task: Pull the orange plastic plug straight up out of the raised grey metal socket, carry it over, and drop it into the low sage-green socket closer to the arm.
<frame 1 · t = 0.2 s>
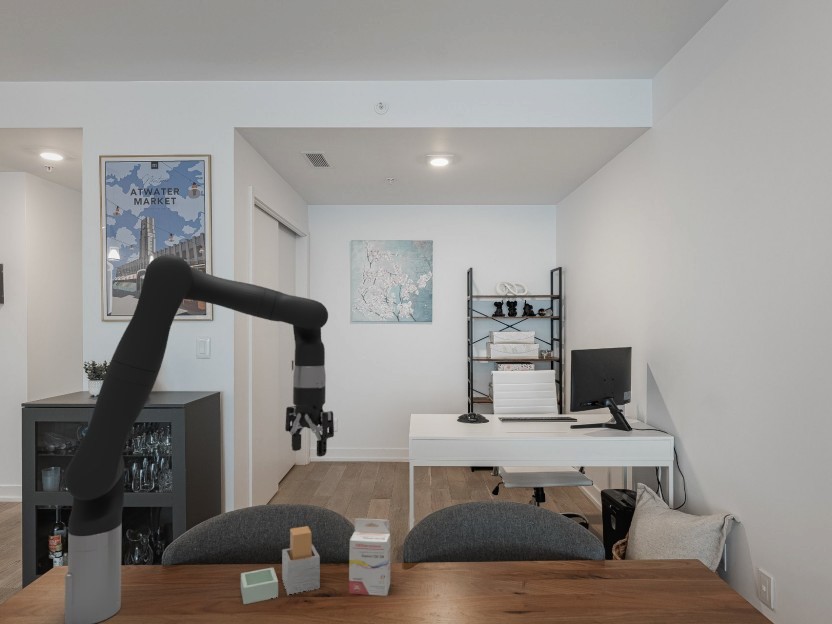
hand: (308, 453, 123), 28 cm above the table, tool pointing down, fingers open, 8 cm apart
plug: (300, 566, 116), point 4 cm above the table, touching upper socket
upper socket: (300, 584, 116), on the table
lower socket: (259, 593, 113), on the table
ink cartridge box: (370, 590, 114), on the table
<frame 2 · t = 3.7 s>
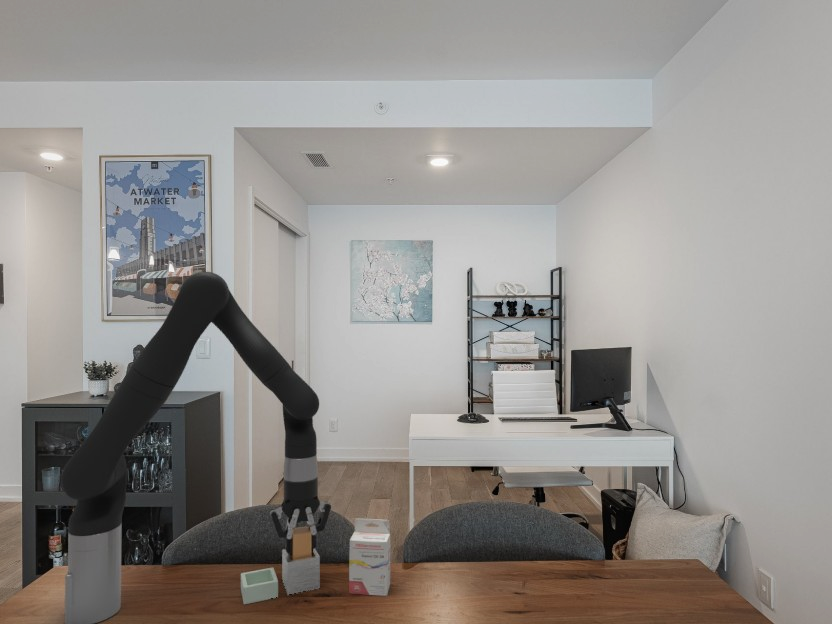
hand: (300, 551, 117), 7 cm above the table, tool pointing down, fingers closed on plug, 4 cm apart
plug: (300, 566, 116), point 4 cm above the table, touching gripper, upper socket
everything else where it was.
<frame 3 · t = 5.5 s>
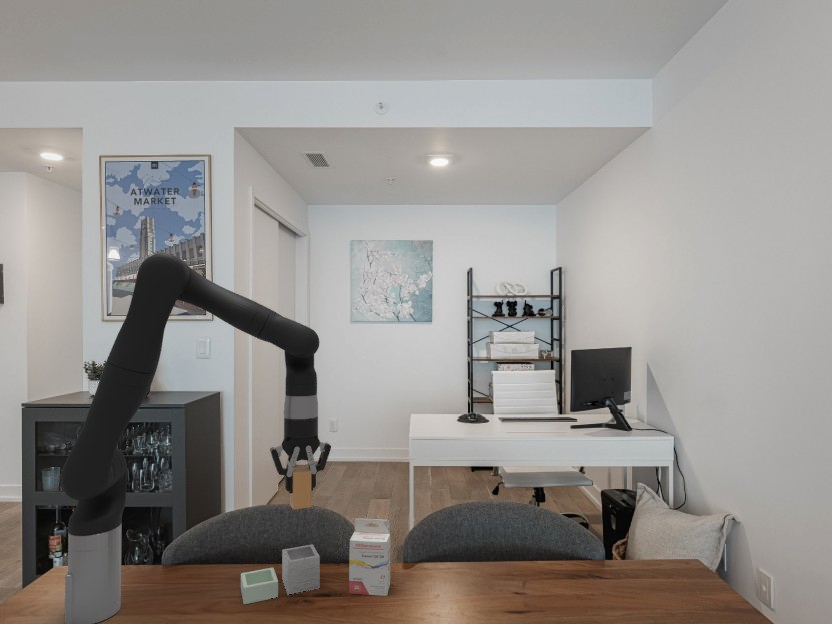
hand: (300, 490, 117), 21 cm above the table, tool pointing down, fingers closed on plug, 4 cm apart
plug: (300, 505, 117), point 18 cm above the table, touching gripper
everything else where it was.
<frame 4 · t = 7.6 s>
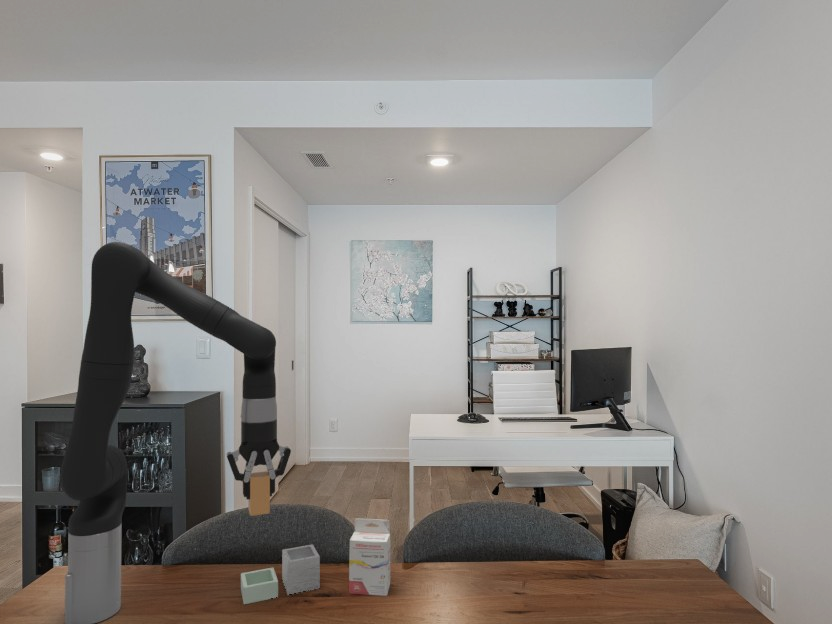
hand: (259, 496, 113), 21 cm above the table, tool pointing down, fingers closed on plug, 4 cm apart
plug: (259, 511, 113), point 18 cm above the table, touching gripper
everything else where it was.
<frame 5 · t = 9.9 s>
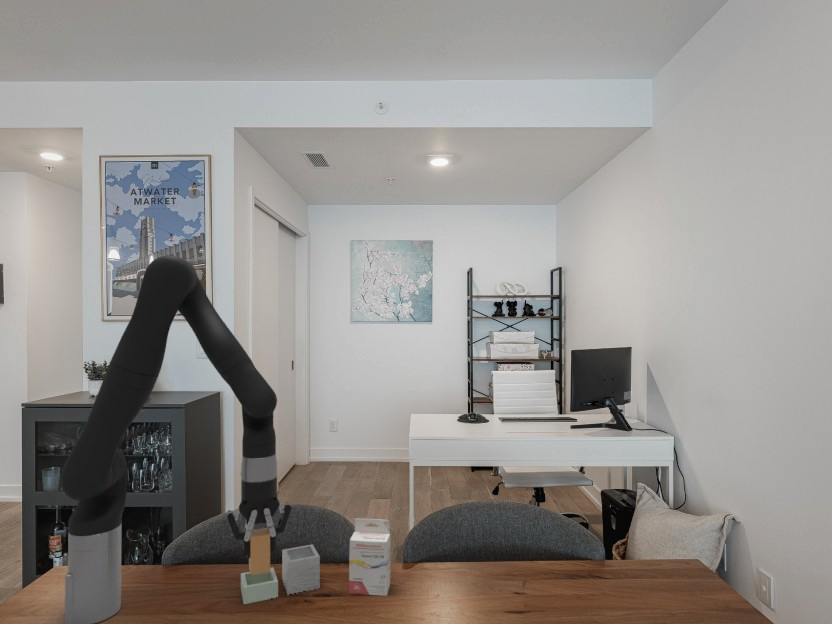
hand: (259, 554, 113), 8 cm above the table, tool pointing down, fingers closed on plug, 4 cm apart
plug: (259, 569, 113), point 5 cm above the table, touching gripper
everything else where it was.
when the fingers open (5 cm above the table, at t = 11.7 s): plug drops 1 cm, resting on lower socket.
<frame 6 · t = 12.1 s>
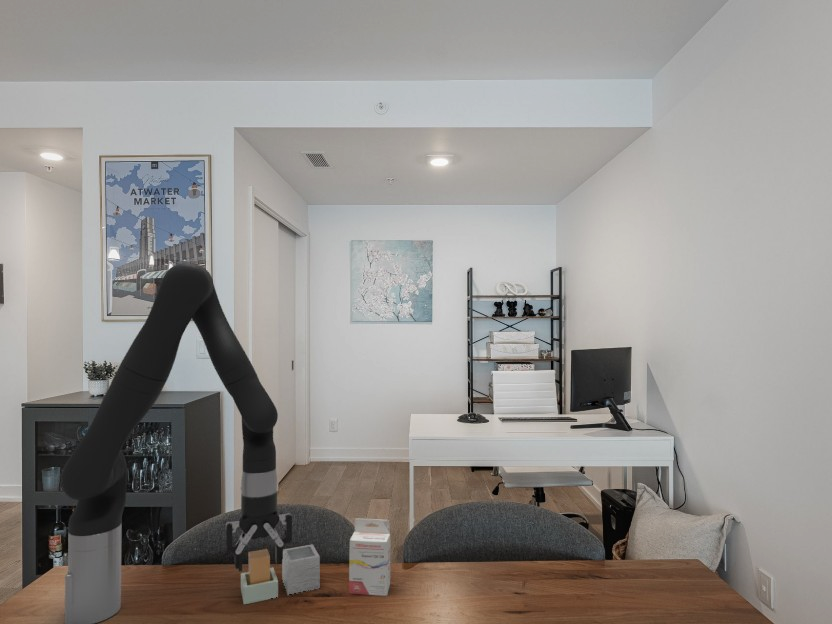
hand: (259, 566, 113), 6 cm above the table, tool pointing down, fingers open, 7 cm apart
plug: (259, 591, 113), resting on lower socket
everything else where it was.
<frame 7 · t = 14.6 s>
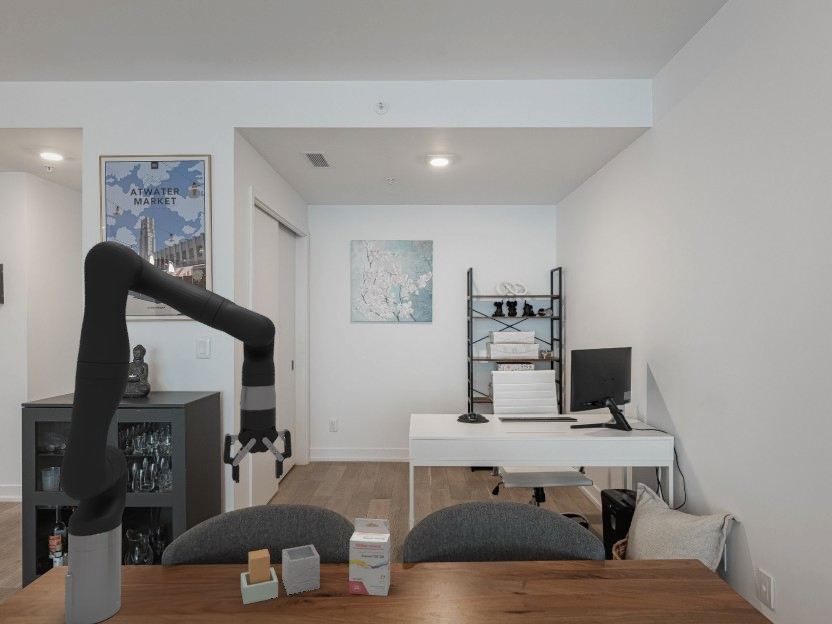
hand: (257, 479, 114), 24 cm above the table, tool pointing down, fingers open, 8 cm apart
nothing on the table moved.
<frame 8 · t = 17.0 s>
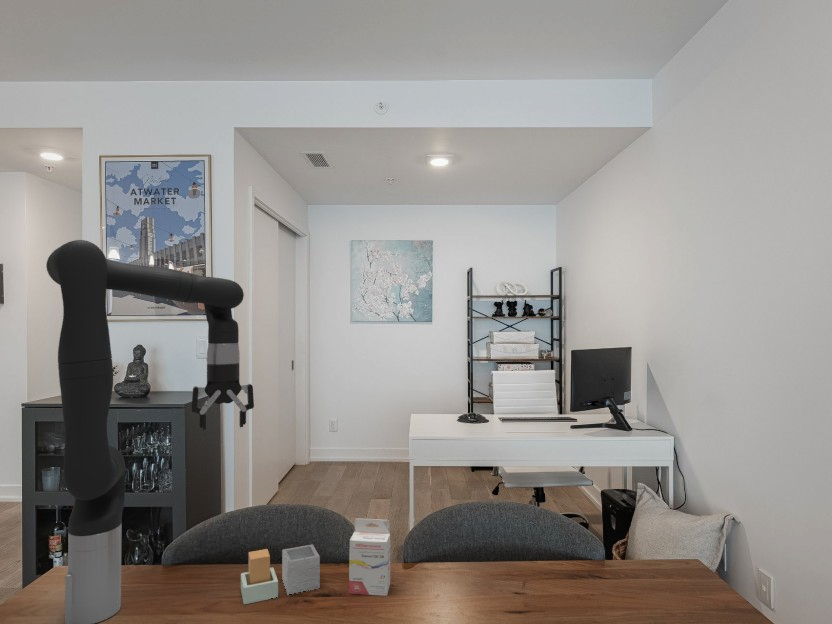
hand: (223, 428, 127), 33 cm above the table, tool pointing down, fingers open, 8 cm apart
nothing on the table moved.
at the end: plug 0.0 cm off-centre on the lower socket, point 0.4 cm above the lower socket's base; plug tilted 0°; the gripper is holding nothing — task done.
